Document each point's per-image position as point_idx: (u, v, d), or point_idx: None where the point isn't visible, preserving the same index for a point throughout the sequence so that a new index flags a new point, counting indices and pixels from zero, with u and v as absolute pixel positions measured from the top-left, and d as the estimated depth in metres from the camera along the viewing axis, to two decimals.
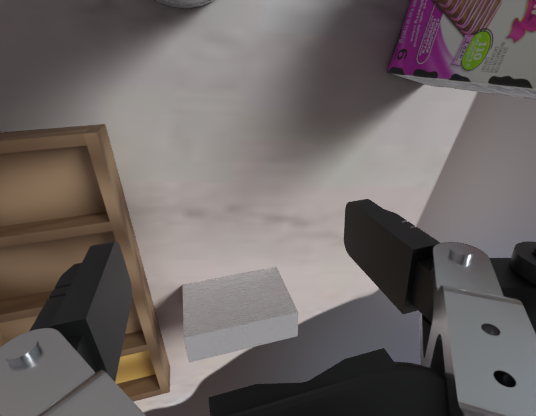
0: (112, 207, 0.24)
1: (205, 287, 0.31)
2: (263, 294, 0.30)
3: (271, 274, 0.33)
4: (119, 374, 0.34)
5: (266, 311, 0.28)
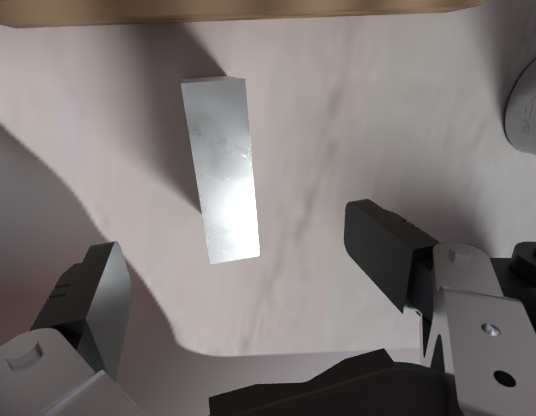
0: (405, 0, 0.19)
1: None
2: None
3: None
4: None
5: None
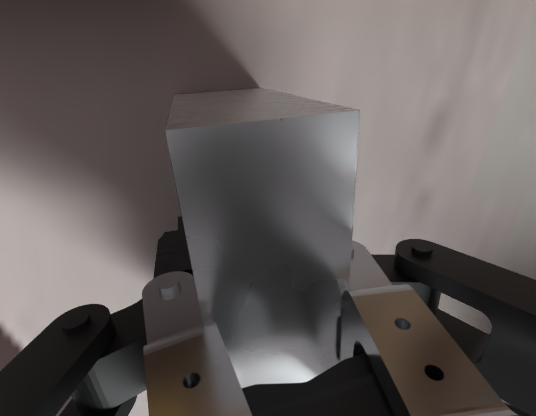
0: None
1: None
2: None
3: None
4: None
5: None
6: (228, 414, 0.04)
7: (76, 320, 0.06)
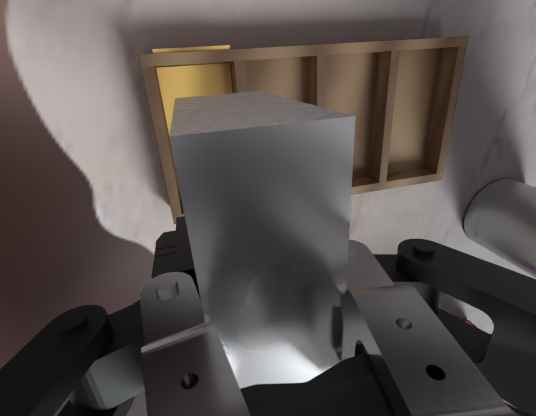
0: (395, 184, 0.32)
1: None
2: None
3: None
4: None
5: None
6: (227, 415, 0.04)
7: (72, 321, 0.06)
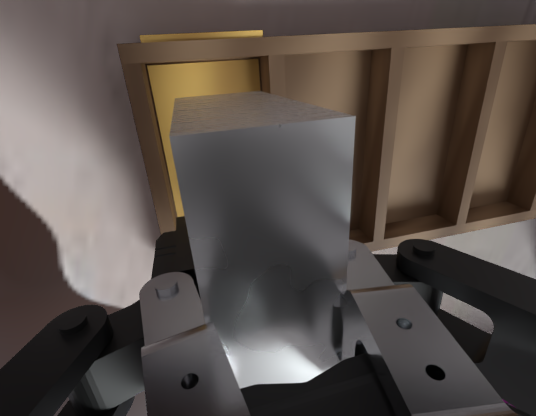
0: (477, 226, 0.24)
1: None
2: None
3: None
4: None
5: None
6: (227, 414, 0.04)
7: (73, 321, 0.06)
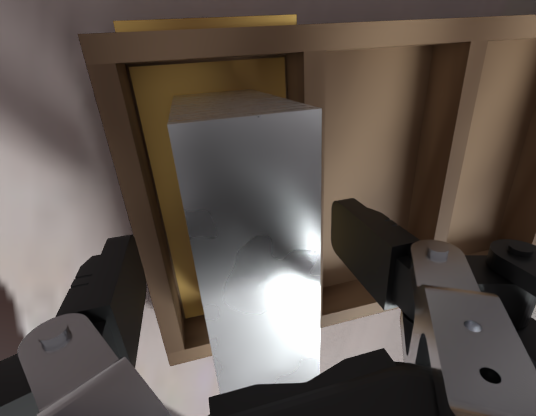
0: None
1: None
2: None
3: None
4: None
5: None
6: None
7: None
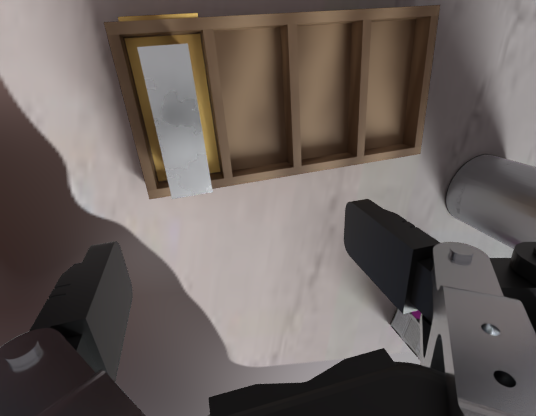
0: (373, 158, 0.32)
1: None
2: None
3: None
4: None
5: None
6: None
7: None
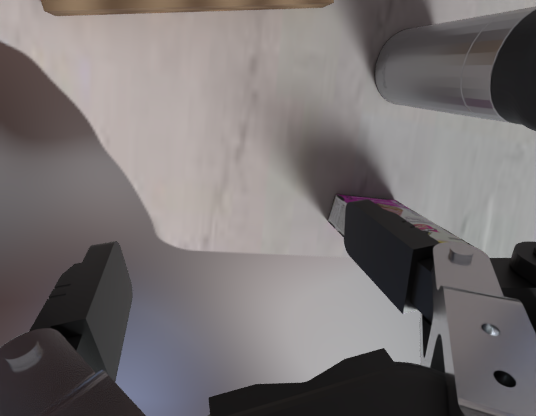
0: (283, 0, 0.32)
1: None
2: None
3: None
4: None
5: None
6: None
7: None
